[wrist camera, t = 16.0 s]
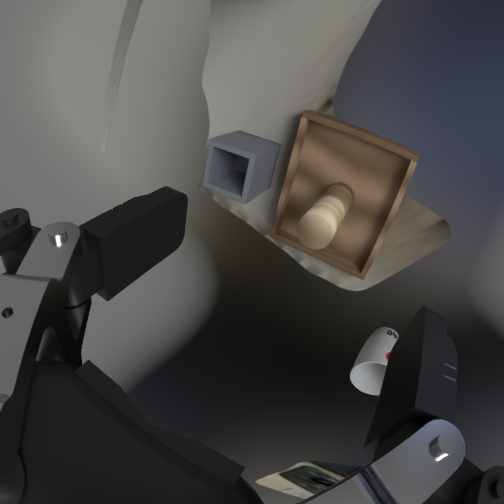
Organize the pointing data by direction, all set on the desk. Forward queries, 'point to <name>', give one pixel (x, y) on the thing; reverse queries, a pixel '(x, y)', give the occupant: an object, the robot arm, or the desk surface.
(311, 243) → the dowel
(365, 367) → the cup
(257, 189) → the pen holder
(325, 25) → the desk surface
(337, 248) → the tray
